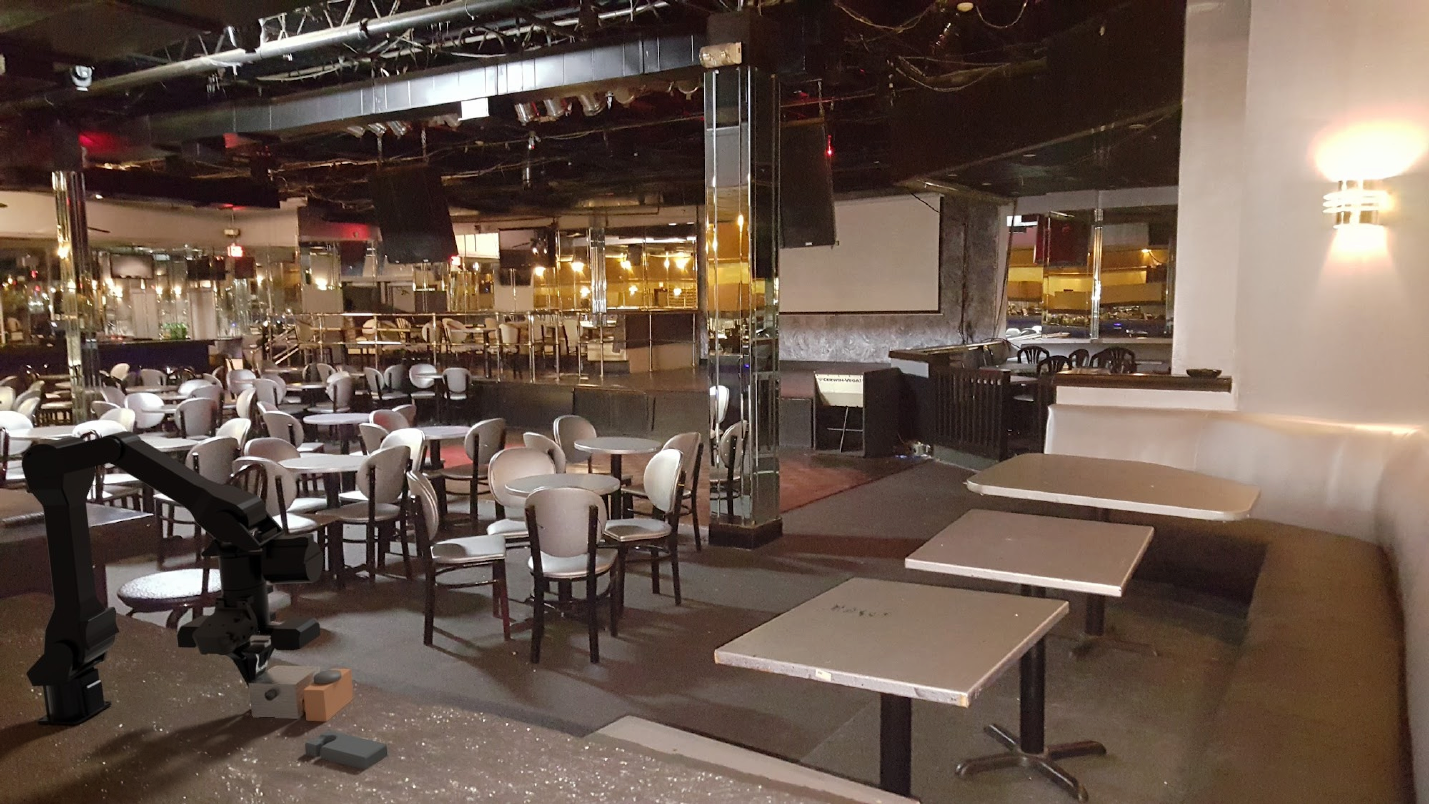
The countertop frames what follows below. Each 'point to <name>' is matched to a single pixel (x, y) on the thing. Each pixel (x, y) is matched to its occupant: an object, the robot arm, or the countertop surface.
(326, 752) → the bracket
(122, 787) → the countertop surface
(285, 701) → the grey cube with knob
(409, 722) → the countertop surface
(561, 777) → the countertop surface
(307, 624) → the robot arm
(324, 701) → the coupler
